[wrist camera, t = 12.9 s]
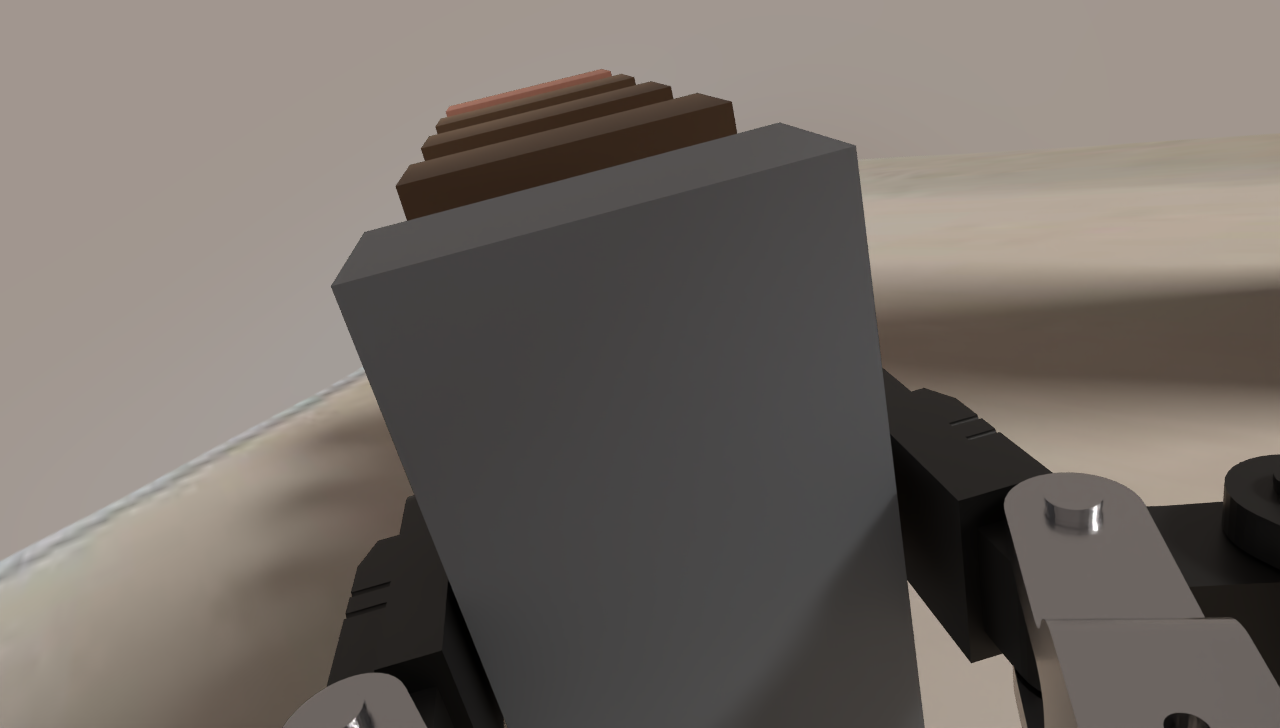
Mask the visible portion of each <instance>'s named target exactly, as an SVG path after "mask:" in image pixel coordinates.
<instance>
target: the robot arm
mask: <svg viewBox="0 0 1280 728" xmlns="http://www.w3.org/2000/svg"><path fill="white" fill-rule="evenodd" d="M882 371H883V380H884V388H885V397H886V405H887V414H888V422H889V431H890V439H891V448H892V456H893V465H894V473H895V481H896V490H897V498H898V507H899V515H900V524H901V532H902V541H903V549H904V558H905V566H906V575H907V580H908V582H909V583H910V584H911V585H912V587H913V588H914V589H915V591H916V592H917V593H918V595H919V596H920V597H921V598H922V600H923V601H924V602H925V604H926V605H927V606H928V608H929V609H930V610H931V611H932V613H933V614H934V615H935V617H936V618H937V619H938V621H939V622H940V623H941V624H942V626H943V627H944V628H945V630H946V631H947V632H948V634H949V635H950V636H951V637H952V639H953V640H954V641H955V643H956V644H957V645H958V647H959V648H960V649H961V650H962V652H963V653H964V654H965V656H966V657H967V658H968V660H969V661H970V662H971V663H973V662H977V661H980V660H983V659H986V658H990V657H993V656H996V655H999V654H1004V656H1005V657H1006V658H1007V659H1008V660H1009V662H1010V663H1011V664H1012V665H1013V682H1014V694H1015V699H1016V703H1017V708H1018V712H1019V717H1020V722H1021V726H1022V728H1280V455H1267V456H1260V457H1256V458H1252V459H1248V460H1246V461H1243V462H1240V463H1239V464H1237V465H1235V466H1234V467H1232V468H1231V469H1230V470H1229V471H1228V473H1227V475H1226V477H1225V484H1224V498H1223V502H1212V503H1198V504H1184V505H1170V506H1146V505H1145V504H1144V502H1143V501H1142V499H1141V498H1140V497H1139V496H1138V495H1137V494H1136V493H1135V492H1133V491H1132V490H1130V489H1129V488H1127V487H1126V486H1124V485H1122V484H1120V483H1118V482H1115V481H1112V480H1110V479H1107V478H1103V477H1099V476H1095V475H1090V474H1083V473H1052V472H1051V471H1050V470H1048V469H1047V468H1046V467H1044V466H1043V465H1042V464H1040V463H1039V462H1038V461H1037V460H1035V459H1034V458H1033V457H1031V456H1030V455H1029V454H1027V453H1026V452H1025V451H1024V450H1022V449H1021V448H1020V447H1018V446H1017V445H1016V444H1015V443H1013V442H1012V441H1011V440H1009V439H1008V438H1007V437H1005V436H1004V435H1003V434H1002V433H1000V432H998V433H996V430H995V428H994V427H992V426H991V425H990V424H989V423H987V422H986V421H985V420H983V419H982V418H981V419H979V418H978V416H977V414H976V413H974V412H973V411H972V410H970V409H969V408H968V407H966V406H965V405H964V404H963V403H961V402H960V401H959V400H957V399H956V398H953V397H950V396H947V395H944V394H941V393H938V392H935V391H932V390H929V389H926V388H923V389H919V390H915V391H912V392H911V391H910V390H909V389H907V388H906V387H905V386H904V385H903V384H901V383H900V382H899V381H898V380H897V379H895V378H894V377H893V376H892V375H891V374H890V373H888V372H887V371H886V370H885V369H883V368H882ZM351 594H352V597H350V599H349V602H348V606H347V610H346V618H347V619H344V622H343V626H342V629H341V633H340V637H339V641H338V645H337V649H336V653H335V657H334V660H333V664H332V668H331V672H330V676H329V680H328V684H327V687H326V688H325V689H323V690H321V691H320V692H318V693H316V694H315V695H314V696H312V697H311V698H310V699H308V700H307V701H306V702H305V703H304V704H303V705H301V706H300V707H299V708H298V709H297V710H296V711H295V712H294V713H293V715H292V716H291V717H290V718H289V719H288V721H287V722H286V723H285V725H284V726H283V727H282V728H504V717H503V714H502V712H501V709H500V707H499V704H498V702H497V699H496V697H495V694H494V692H493V689H492V687H491V684H490V682H489V679H488V677H487V674H486V672H485V669H484V667H483V664H482V662H481V659H480V657H479V654H478V652H477V649H476V647H475V644H474V642H473V639H472V637H471V634H470V632H469V629H468V627H467V624H466V622H465V620H464V617H463V615H462V612H461V610H460V607H459V605H458V602H457V600H456V597H455V595H454V592H453V590H452V587H451V585H450V582H449V580H448V577H447V575H446V572H445V570H444V567H443V565H442V562H441V560H440V557H439V555H438V552H437V550H436V547H435V545H434V542H433V540H432V537H431V535H430V532H429V530H428V527H427V525H426V522H425V520H424V517H423V515H422V512H421V510H420V507H419V505H418V502H417V500H416V497H415V495H413V496H410V497H408V498H407V500H406V504H405V509H404V514H403V519H402V525H401V530H400V535H397V536H394V537H390V538H387V539H383V540H379V541H378V542H377V543H376V544H375V546H374V547H373V548H372V549H371V551H370V552H369V553H368V554H367V556H366V557H365V558H364V560H363V561H362V562H361V563H360V565H359V566H358V568H357V572H356V575H355V579H354V583H353V587H352V591H351Z"/></svg>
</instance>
